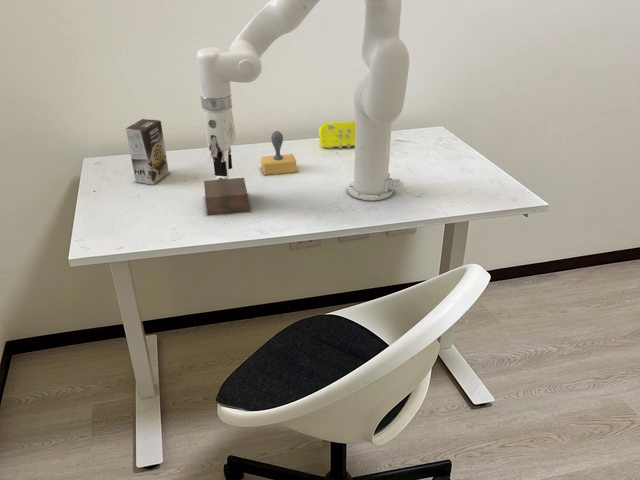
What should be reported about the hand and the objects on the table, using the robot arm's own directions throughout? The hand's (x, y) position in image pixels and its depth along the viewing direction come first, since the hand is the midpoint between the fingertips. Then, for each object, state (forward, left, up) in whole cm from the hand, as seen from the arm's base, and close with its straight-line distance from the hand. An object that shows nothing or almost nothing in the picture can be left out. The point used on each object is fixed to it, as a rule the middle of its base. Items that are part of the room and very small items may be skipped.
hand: (223, 171), depth 165 cm
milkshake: (0, 0, -2) cm, 2 cm away
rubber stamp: (-9, -25, -10) cm, 28 cm away
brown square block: (0, 0, -9) cm, 9 cm away
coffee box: (+27, -14, -10) cm, 32 cm away
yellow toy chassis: (-26, -48, -10) cm, 55 cm away
